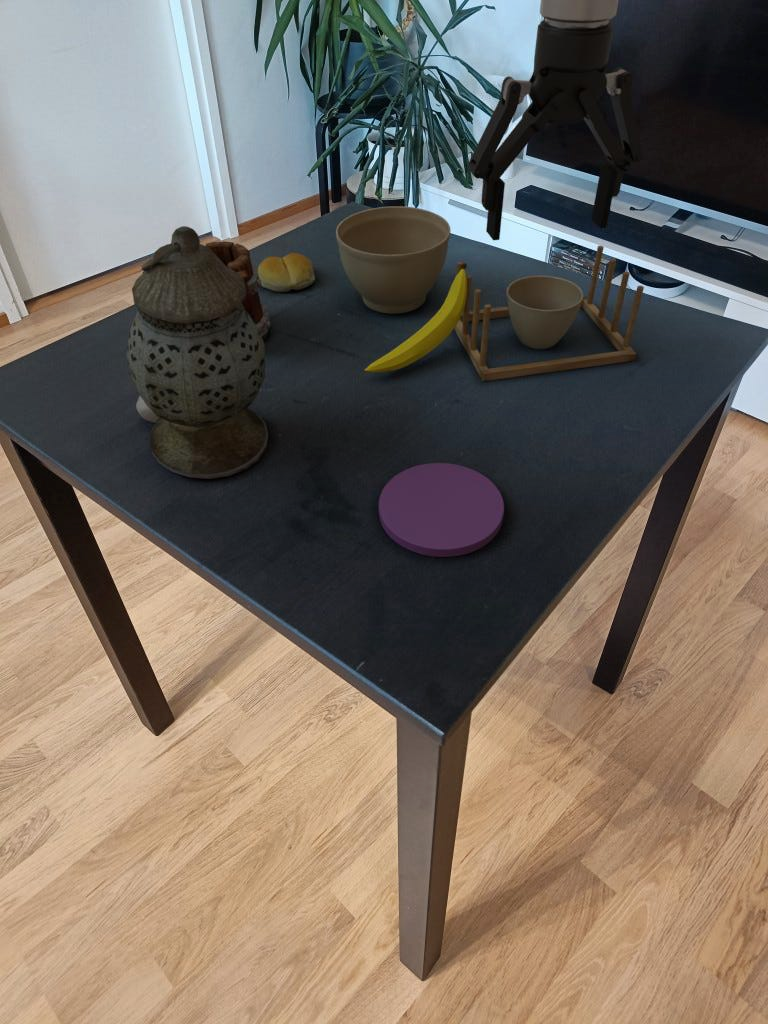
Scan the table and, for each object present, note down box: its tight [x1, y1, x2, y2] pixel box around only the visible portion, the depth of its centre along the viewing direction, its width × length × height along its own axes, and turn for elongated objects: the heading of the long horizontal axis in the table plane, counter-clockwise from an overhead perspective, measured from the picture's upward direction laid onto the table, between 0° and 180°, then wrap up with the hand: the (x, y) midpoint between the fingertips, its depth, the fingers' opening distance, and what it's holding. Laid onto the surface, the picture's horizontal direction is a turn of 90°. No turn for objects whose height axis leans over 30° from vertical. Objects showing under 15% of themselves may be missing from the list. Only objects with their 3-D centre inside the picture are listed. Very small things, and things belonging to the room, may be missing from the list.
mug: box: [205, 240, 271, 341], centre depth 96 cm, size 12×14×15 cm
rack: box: [453, 245, 645, 382], centre depth 95 cm, size 16×21×10 cm
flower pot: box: [506, 275, 585, 350], centre depth 96 cm, size 10×10×7 cm
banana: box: [363, 262, 468, 373], centre depth 93 cm, size 3×19×6 cm, turn 127°
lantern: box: [126, 225, 269, 480], centre depth 74 cm, size 14×14×25 cm
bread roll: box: [257, 252, 316, 293], centre depth 111 cm, size 8×9×4 cm
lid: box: [378, 462, 505, 558], centre depth 74 cm, size 13×13×1 cm
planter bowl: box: [335, 205, 451, 315], centre depth 104 cm, size 16×16×11 cm
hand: (546, 229), depth 86 cm, fingers open, 13 cm apart
